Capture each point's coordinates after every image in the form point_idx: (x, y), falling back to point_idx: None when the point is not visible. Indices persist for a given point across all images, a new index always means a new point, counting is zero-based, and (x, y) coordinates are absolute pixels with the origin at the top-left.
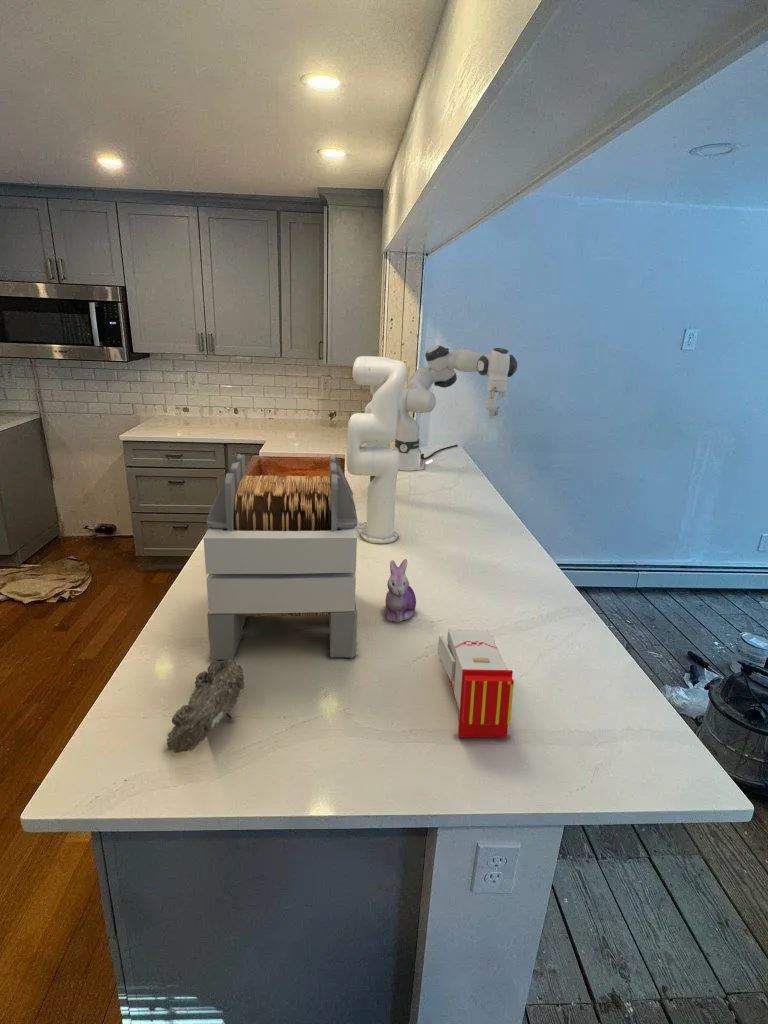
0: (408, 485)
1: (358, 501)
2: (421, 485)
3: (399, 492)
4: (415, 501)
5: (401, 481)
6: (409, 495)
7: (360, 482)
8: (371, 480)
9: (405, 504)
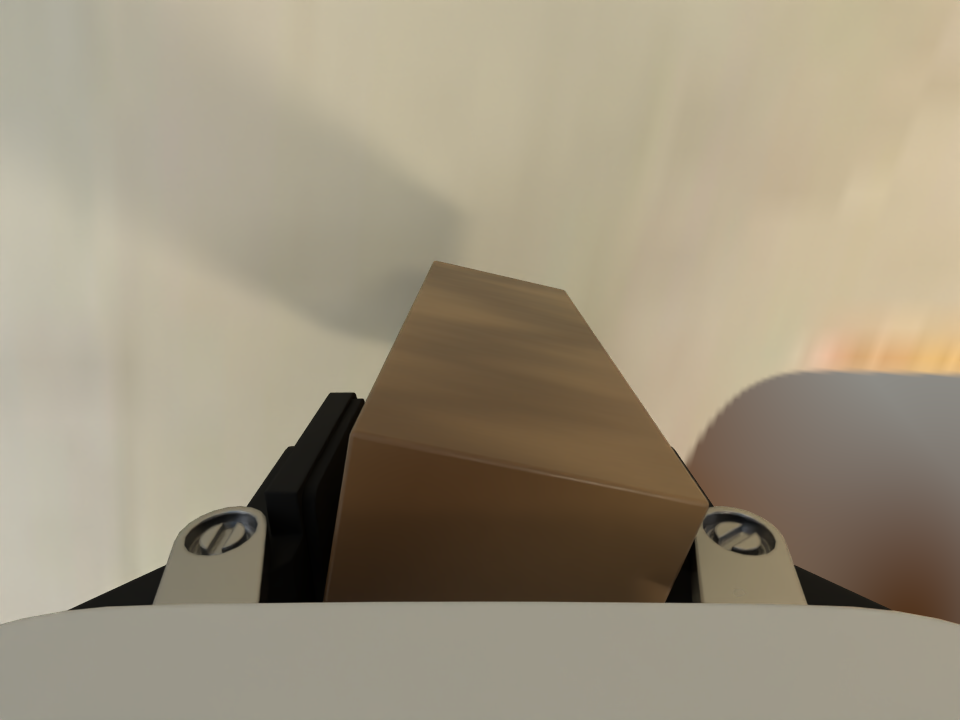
0: None
1: (697, 151)
2: (26, 598)
3: (228, 425)
4: (48, 126)
5: None
6: (125, 335)
7: None
8: (569, 322)
9: (163, 10)
